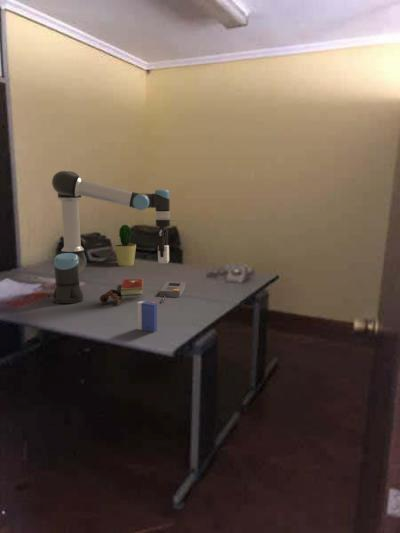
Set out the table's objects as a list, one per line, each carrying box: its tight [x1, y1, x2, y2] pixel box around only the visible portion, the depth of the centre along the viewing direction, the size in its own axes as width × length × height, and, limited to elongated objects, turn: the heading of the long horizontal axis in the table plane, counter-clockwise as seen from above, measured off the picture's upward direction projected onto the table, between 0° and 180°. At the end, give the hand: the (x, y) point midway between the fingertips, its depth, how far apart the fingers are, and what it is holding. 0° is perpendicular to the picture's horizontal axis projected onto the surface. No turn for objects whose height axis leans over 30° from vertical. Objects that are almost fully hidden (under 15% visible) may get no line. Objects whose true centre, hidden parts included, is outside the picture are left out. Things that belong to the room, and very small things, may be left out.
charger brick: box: [157, 244, 170, 264], centre depth 213 cm, size 5×5×9 cm
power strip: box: [159, 281, 186, 304], centre depth 214 cm, size 32×11×4 cm, turn 174°
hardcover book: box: [119, 278, 145, 296], centre depth 223 cm, size 12×21×4 cm, turn 6°
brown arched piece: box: [99, 289, 123, 306], centre depth 195 cm, size 12×10×8 cm
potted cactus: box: [114, 224, 137, 267], centre depth 286 cm, size 15×15×30 cm
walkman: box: [136, 300, 158, 333], centre depth 162 cm, size 8×3×12 cm, turn 68°
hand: (163, 261), depth 214 cm, fingers closed on charger brick, 5 cm apart
